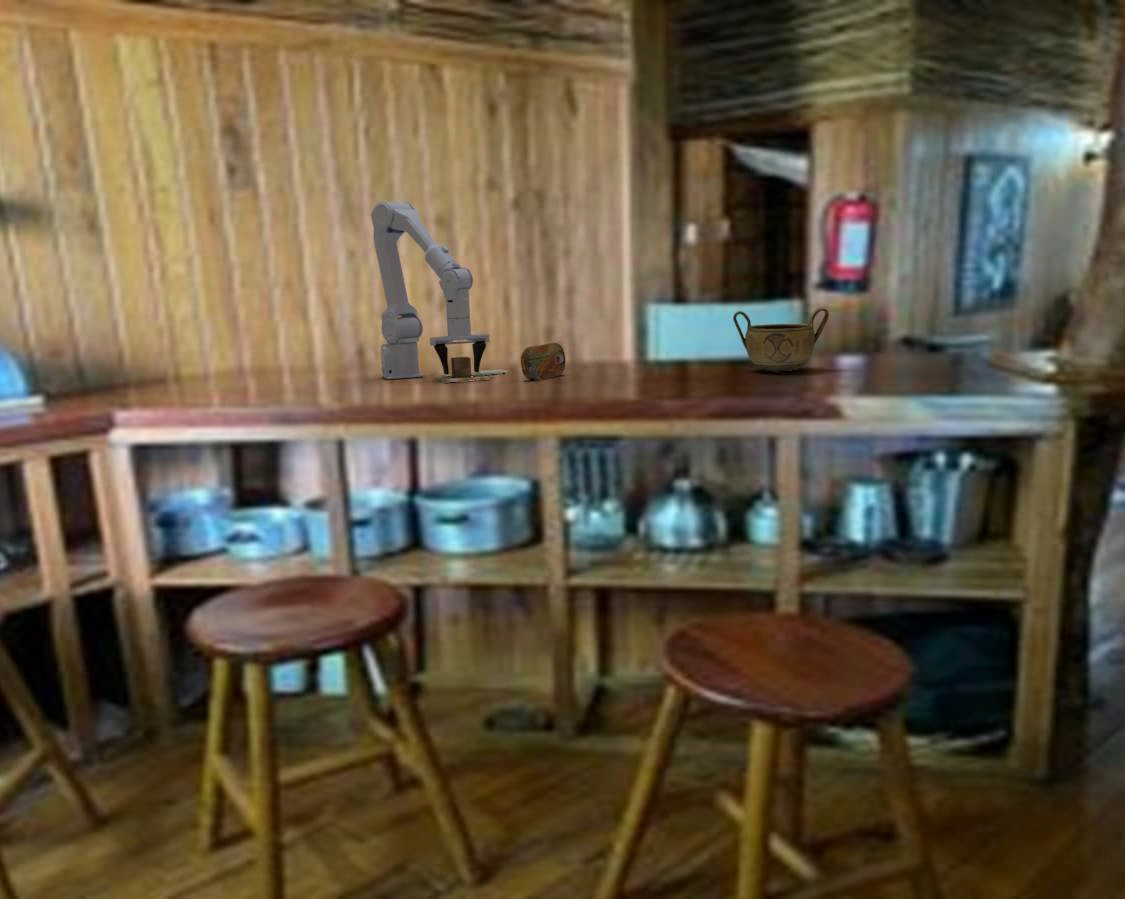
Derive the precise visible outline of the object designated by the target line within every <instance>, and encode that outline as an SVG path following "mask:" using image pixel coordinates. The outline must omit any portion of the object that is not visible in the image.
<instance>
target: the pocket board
mask: <svg viewBox="0 0 1125 899" xmlns="http://www.w3.org/2000/svg"><path fill="white" fill-rule="evenodd" d="M471 376H473V377H468V378H455V379H451V378H452V374H448V375H445V374H442V375H441V374H439V375H434V379H435V378H436V379H435V380H437V379H438V380H437V381H439V380H440V381H439V382H441V381H443V382H445V383H447V382H460V381H469V380H489V381H490V377H489V376H485V375H482V374H480V373H476V372H471ZM443 382H442V383H443ZM445 383H444V384H445Z"/></svg>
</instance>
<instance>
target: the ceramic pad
mask: <svg viewBox="0 0 1125 899" xmlns="http://www.w3.org/2000/svg"><path fill="white" fill-rule="evenodd" d="M477 373H480V374H482V375H488V376H490V375H489V374H501V373H509V374H510V372H509V371H508V370H505V369H502V368H499V369H485V370H479V372H477ZM501 375H502V374H501Z"/></svg>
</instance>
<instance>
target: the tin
mask: <svg viewBox="0 0 1125 899" xmlns="http://www.w3.org/2000/svg"><path fill="white" fill-rule="evenodd" d="M520 367H521V371H522V374H523V375H524V377H525V378H526V379H528V380H530V379H532V380H531V381H541V380H540V379H543V380H546V379H545V378H547V379H551V378H550V377H552V378H556V377H555V376H557V377H560V376H561V375H562V374H563V372H564V371H565V367H566V354H565V350H564V348H563V346H562V345H560V344H559V343H556V342H551V343H545V344H539V345H533V346H527V347H526V348H524V350H523V351H522V353H521V356H520Z"/></svg>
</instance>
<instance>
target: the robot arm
mask: <svg viewBox="0 0 1125 899" xmlns="http://www.w3.org/2000/svg"><path fill="white" fill-rule="evenodd" d="M370 216H371V222H372V226H373V243H374V249H375V252H376V258H377V262H378V267H379V273H380V277H381V281H382V282H381V283H382V287H383V291H384V297H385V300H386V301H385V302H386V308H385V309H384V311H383V312H382V313H381V315H380V316H381V330H380V331H381V334H382V337H383V339H384V340H385V341H386V343H383V344H381V346H380V359H381V361H380V362H381V373H382V375H381V376H383V377H382V378H384V379H385V378H386V379H385V380H395V379H397V380H399V379H410V378H422V376H423V377H424V375H423V374H422V373H420V364H419V362H420V361H419V348H418V342H419V341H420V337H421V336H422V334H423V330H424V327H423V326H424V325H423V322H422V320H421V319H420V317H419V314H418V310H417V309H416V308H415V307H414V306H412V304H410V302H409V299H408V294H407V289H406V284H405V283H406V282H405V278H404V273H403V269H402V268H403V267H402V264H401V259H400V254H399V250H398V244H397V242H398V241H399V239H400V238H401V237H402V236H403V235H404V234H405V233H407V234H408V235H409V236H410V237H411V239H412V240H413V241H414V242H415V243H416V244H417V246H419V247H420V248H421V250H423V252H424V253H425V256H424V258H425V261H426V263H427V265H429V267H430V268H431V269H432V270H433V271H434V273H435V274H436V275H437V277H438V278H439V279H440V280H438V283H439V287H440V289H441V290H442V292H443V298H444V299H445V310H446V312H445V313H446V325H447V326H446V327H447V330H446V331H447V335H446V336H433V337H429V345H430V346H432V347H433V348H434V350H435V352H436V354H437V355H438V358H439V360H440V364H441V366H442V369H443V375H450V374H449V373H450V369H449V364H448V363H449V362H448V358H449V356H448V352H449V349H448V347H447V345H461V344H462V345H464V344H471V346H472V352H473V371H474V372H473V373H476V372H479V371H480V367H481V366H480V365H481V363H482V362H481V361H482V358H483V354H484V352H485V350H486V347H487V343H490V334H488V333H482V334H479V333H478V334H472V331H471V330H472V329H471V308H470V293H469V291H470V290H471V288H472V286H473V283H474V280H473V279H474V277H473V274H472V272H471V270H470V269H469V268H468V267H462V266H461V265H460V263H459V262H458V261H456V260H455V258H454V257H453V256H452V255H451V253H450V252H449V250H450V249H449V248H448V247H447V246H444V245H443V244H437V242H436V241H435V240H434V238H433V237H432V236H431V234H430V233H429V231H428V230H427V228H426V227H425V225H424V224H423V223H422V221H421V219H420V218H419V216H420V215H419V211H418V210H417V209H415V207H414V206H413V204H412V203H410V202H405V201H404V202H394V201H393V202H392V201H391V202H390V201H389V202H388V201H381V200H380V201H379V202H378V203H376V205H375V207H374V208H373V210H372V212H371V213H370Z"/></svg>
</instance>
